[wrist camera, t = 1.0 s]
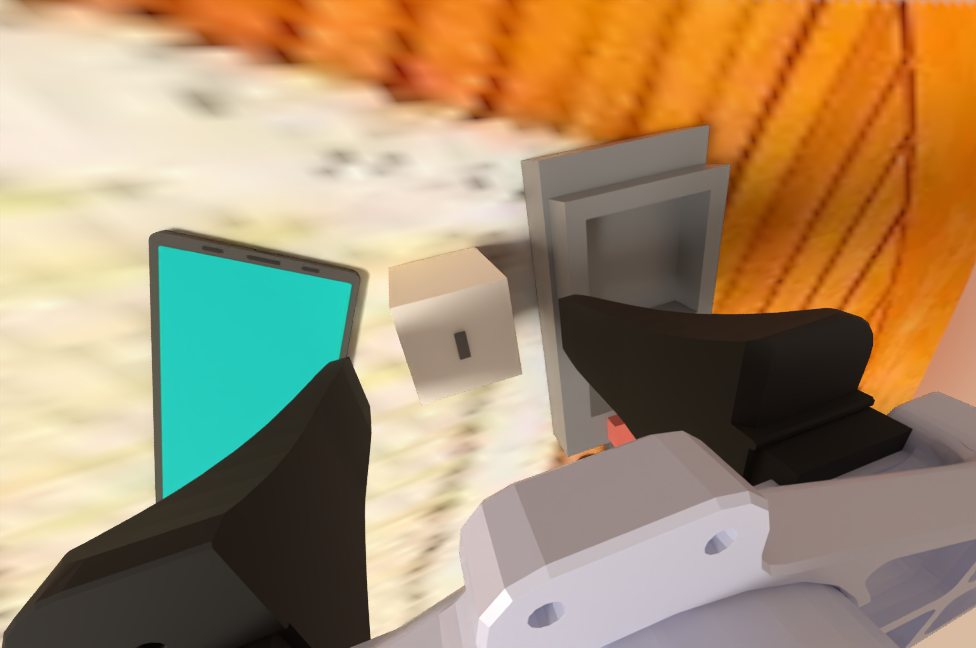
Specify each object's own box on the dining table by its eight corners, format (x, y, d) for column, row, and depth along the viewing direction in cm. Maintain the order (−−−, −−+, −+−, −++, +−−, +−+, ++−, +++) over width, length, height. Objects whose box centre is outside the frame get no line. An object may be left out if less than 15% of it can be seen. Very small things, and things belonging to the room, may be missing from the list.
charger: (489, 322, 18) (523, 376, 14) (412, 343, 18) (421, 407, 13) (474, 246, 16) (508, 279, 12) (388, 267, 16) (389, 310, 11)
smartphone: (360, 274, 15) (315, 524, 20) (362, 269, 16) (318, 511, 21) (144, 229, 13) (153, 528, 17) (158, 225, 13) (163, 513, 18)
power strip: (656, 436, 25) (694, 475, 22) (558, 471, 24) (583, 517, 21) (675, 128, 16) (741, 121, 13) (520, 160, 15) (554, 160, 12)
